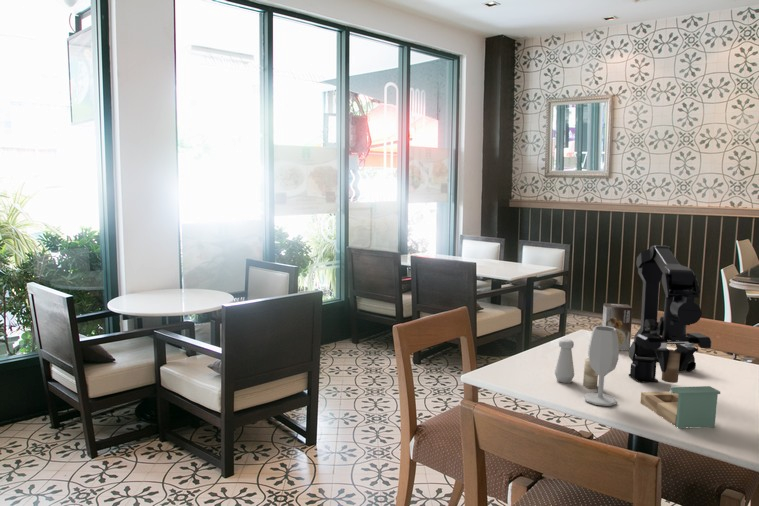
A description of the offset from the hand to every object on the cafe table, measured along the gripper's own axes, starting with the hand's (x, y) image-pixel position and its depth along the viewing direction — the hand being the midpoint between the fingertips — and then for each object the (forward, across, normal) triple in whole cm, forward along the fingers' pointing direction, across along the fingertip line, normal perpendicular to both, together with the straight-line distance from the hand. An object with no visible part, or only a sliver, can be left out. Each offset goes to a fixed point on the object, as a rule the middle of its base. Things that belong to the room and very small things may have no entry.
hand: (670, 371), depth 164 cm
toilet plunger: (+11, -25, -36) cm, 45 cm away
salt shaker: (+11, +19, -24) cm, 32 cm away
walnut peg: (+2, 0, 0) cm, 3 cm away
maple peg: (+11, +13, -19) cm, 25 cm away
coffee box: (+11, -16, -58) cm, 61 cm away
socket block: (+10, 0, +3) cm, 11 cm away
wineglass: (+11, +16, -7) cm, 20 cm away
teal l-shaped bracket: (+11, 0, +11) cm, 15 cm away
